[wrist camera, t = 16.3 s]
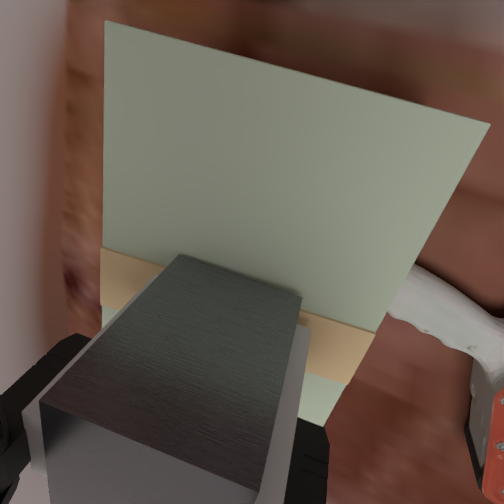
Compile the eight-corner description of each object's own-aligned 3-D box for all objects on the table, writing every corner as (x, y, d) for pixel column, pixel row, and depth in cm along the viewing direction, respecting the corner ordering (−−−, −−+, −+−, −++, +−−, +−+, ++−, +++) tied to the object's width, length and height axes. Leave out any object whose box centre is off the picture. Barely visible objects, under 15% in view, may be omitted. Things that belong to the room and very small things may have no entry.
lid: (118, 22, 11) (101, 19, 10) (480, 120, 10) (493, 124, 9) (109, 397, 20) (99, 411, 20) (296, 461, 20) (295, 479, 19)
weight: (178, 254, 13) (38, 400, 7) (302, 297, 13) (259, 492, 7) (165, 345, 16) (51, 511, 10) (268, 384, 15) (214, 585, 9)
